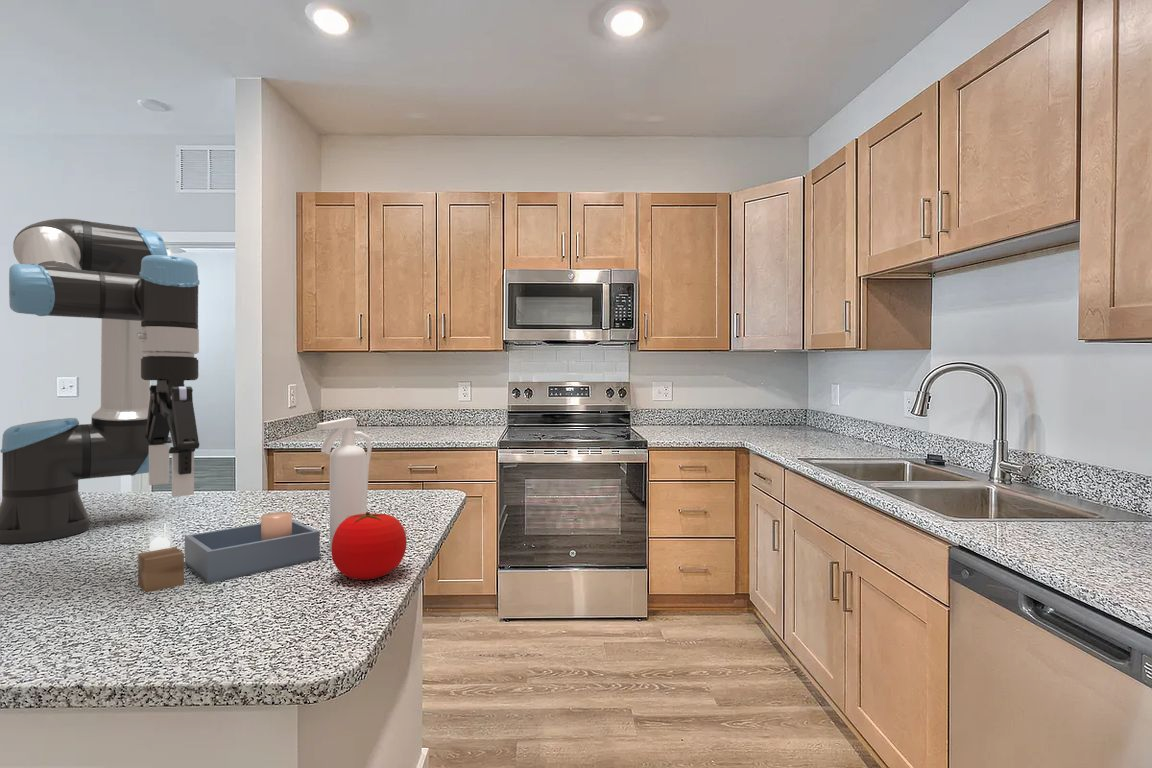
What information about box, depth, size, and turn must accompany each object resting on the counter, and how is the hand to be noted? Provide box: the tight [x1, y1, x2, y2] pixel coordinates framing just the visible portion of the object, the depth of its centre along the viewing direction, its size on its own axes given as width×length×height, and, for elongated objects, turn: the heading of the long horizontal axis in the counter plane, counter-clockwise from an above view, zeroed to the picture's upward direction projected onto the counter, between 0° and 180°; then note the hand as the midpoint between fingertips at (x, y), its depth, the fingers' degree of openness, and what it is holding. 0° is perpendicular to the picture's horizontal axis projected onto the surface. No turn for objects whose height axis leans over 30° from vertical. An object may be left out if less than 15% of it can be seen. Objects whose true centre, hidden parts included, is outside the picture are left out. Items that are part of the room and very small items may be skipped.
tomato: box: [330, 511, 407, 581], centre depth 98 cm, size 12×12×10 cm
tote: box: [184, 519, 321, 584], centre depth 105 cm, size 14×18×5 cm
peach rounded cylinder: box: [260, 511, 293, 541], centre depth 107 cm, size 5×5×7 cm
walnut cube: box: [137, 546, 185, 593], centre depth 93 cm, size 5×5×5 cm
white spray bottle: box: [316, 417, 373, 552], centre depth 113 cm, size 7×12×25 cm, turn 142°
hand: (170, 489), depth 94 cm, fingers open, 13 cm apart
